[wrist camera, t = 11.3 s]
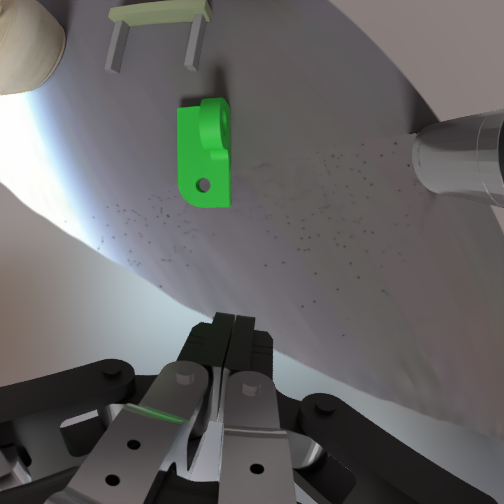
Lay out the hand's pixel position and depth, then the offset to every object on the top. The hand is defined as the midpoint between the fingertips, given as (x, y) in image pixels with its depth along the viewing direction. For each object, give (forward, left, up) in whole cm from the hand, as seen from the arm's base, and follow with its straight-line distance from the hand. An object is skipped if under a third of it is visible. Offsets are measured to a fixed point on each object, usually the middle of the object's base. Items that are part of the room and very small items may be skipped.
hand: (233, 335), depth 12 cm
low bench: (+16, -20, -27) cm, 37 cm away
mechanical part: (+7, -7, -28) cm, 29 cm away
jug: (+38, -23, -27) cm, 52 cm away
